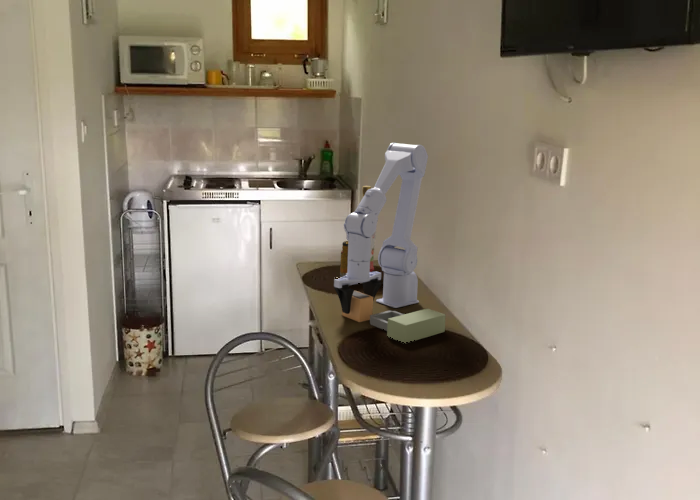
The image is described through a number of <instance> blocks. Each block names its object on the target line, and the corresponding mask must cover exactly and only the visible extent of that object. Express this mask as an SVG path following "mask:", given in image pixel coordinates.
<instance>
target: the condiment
mask: <svg viewBox="0 0 700 500" xmlns="http://www.w3.org/2000/svg"><path fill="white" fill-rule="evenodd" d="M341 245H342V247H341V250H340V265H339V266H340V267H339V269H340V270H339V277H340V278H341V277H343V276H345V275H346V273H347V269H348V240H345V241H343V242H342V244H341ZM336 278H338V277H337V276H336Z"/></svg>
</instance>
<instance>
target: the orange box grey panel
mask: <svg viewBox="0 0 700 500" xmlns="http://www.w3.org/2000/svg"><path fill="white" fill-rule="evenodd" d="M373 309H374V301H373V297H372V296H369V295H366V294H364V292H363V293H362V292H360V291H357V290H354V292H353V295H352V298H351V307H350V313H349V314H346V313H344V312H342V311H341V316H343V317H345V318H348V319H351V320H353V321H355V322H358V323H362V322H366V321H370V315H373V313H374V310H373Z"/></svg>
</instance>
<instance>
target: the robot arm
mask: <svg viewBox="0 0 700 500" xmlns="http://www.w3.org/2000/svg"><path fill="white" fill-rule="evenodd" d="M428 159H429V154H428V153H427V150H426V148H425V146H424V145H422V144H411V143H410V144H409V143H408V144H407V143H398V142H391V143H390V144H389V145H388V147H387V149H386V151H385V153H384V161H385V163H384V165H383V168H382V169H381V171H380V174H379V175H378V178H377V180H376V182H375V185H374V187H371V189H368V190H367V192H366V193H365V195H364V197H363V196H362V198H361V200H360V202H359V203H358V205H357V207H356V209H355V210H354V211H353V212H351V213H349V214H348V215H347V217H346V218H345V221H344V223H343V229H344V232H345V234H346V241H348V269H347V273H346V275H345V276H343V277H341V278H338V279H335V278H334V279H333V287H334V291H335V292H336V295H337V297H338V299H339V302H340V306H341V313H342V312H344V313H346V314H349V313H350V307H351V298H352V295H353V292H354V291H355V290H354V289H353V288H351V287H350V286H352V285H359V284H358V283H360V284H362V288H363V294H366V295H369V296H372V297H373V302H374V301H375V302H377V303H380V304H381V305H382V304H383V305H385V306H388V307H390V308H393V309H397V308H398V309H399V308H402V307H406V306H409V305H413V304H414V305H415V304H418V303H420V301H419V300H418V287H419V286H418V283H419V280H418V276H417V273H416V272H415V271H414V270H415V269H416V268H417V265H418V248H419V247H418V246H417V245H416V244H415V242H414V241H413V240H412V238H411V237H412V232H413V228H414V227H413V226H414V222H415V217H416V213H417V207H418V203H419V202H418V201H419V195H420V191H421V186H422V180H423V178H424V177H425V175H426V174H425V173H426V168H427V163H428ZM398 176H399V177H400V178H401V183H400V190H399V195H398V196H399V197H398V201H397V205H396V206H397V207H396V211H395V217H394V221H393V226H392V233H391V235H390V236H389V237H387V238H386V239H384V240H383V241H382V244H381V248H380V250H379V252H378V255H377V262H378V265H379V267H380V268H381V271H382V272H383V282H381V280H382V272H379V271H375V270H374V271H372V272H370V248H371V236H372V235H373V234H374V232H375V231H376V232H377V225H378V220H379V215H380V213H381V211H382V209H383V208H384V206H385V204H386V203H387V196H386V194H387V193H388V191H389V189H390V188H391V187H392V185H393V184H394V182H395V181H396V179H397V178H398ZM397 247H399V248H397ZM402 248H403V249H402ZM382 284H383V286H382ZM381 287H383V288H382V298H377V299H376V300H375V298H376V295H377V293H378V291H379V290H380V289H381Z"/></svg>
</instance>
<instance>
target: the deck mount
mask: <svg viewBox="0 0 700 500" xmlns="http://www.w3.org/2000/svg"><path fill="white" fill-rule="evenodd" d="M446 319H447V318H446V314H445V313H442V312H439V311H437V310H433V309H430V308H428V307H427V308H424V309H420V310H416V311H412V312H409V313H406V314H405V313H401V312H398V311H396V310H390V309H389V310H386V311H381V312H378V313H375V314H373V315H370V320H369V325H370V326H374V327H376V328H378V329H381V330H383V329H384V330H383V331H386V337H387V336H388V337H387V338H390V337H391V338H390V339H392V338H393V339H392V340H395V341H397V340H398V342H399V341H401V342H400V343H402V342H404V343H405V344H407V343H406V342H408V343H411V342H410V341H412V342H415V341H418V340H421V339H425V338H428V337H431V336H435V335H438V334H441V333H445V330H446ZM414 340H415V341H414ZM404 343H403V344H404Z"/></svg>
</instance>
